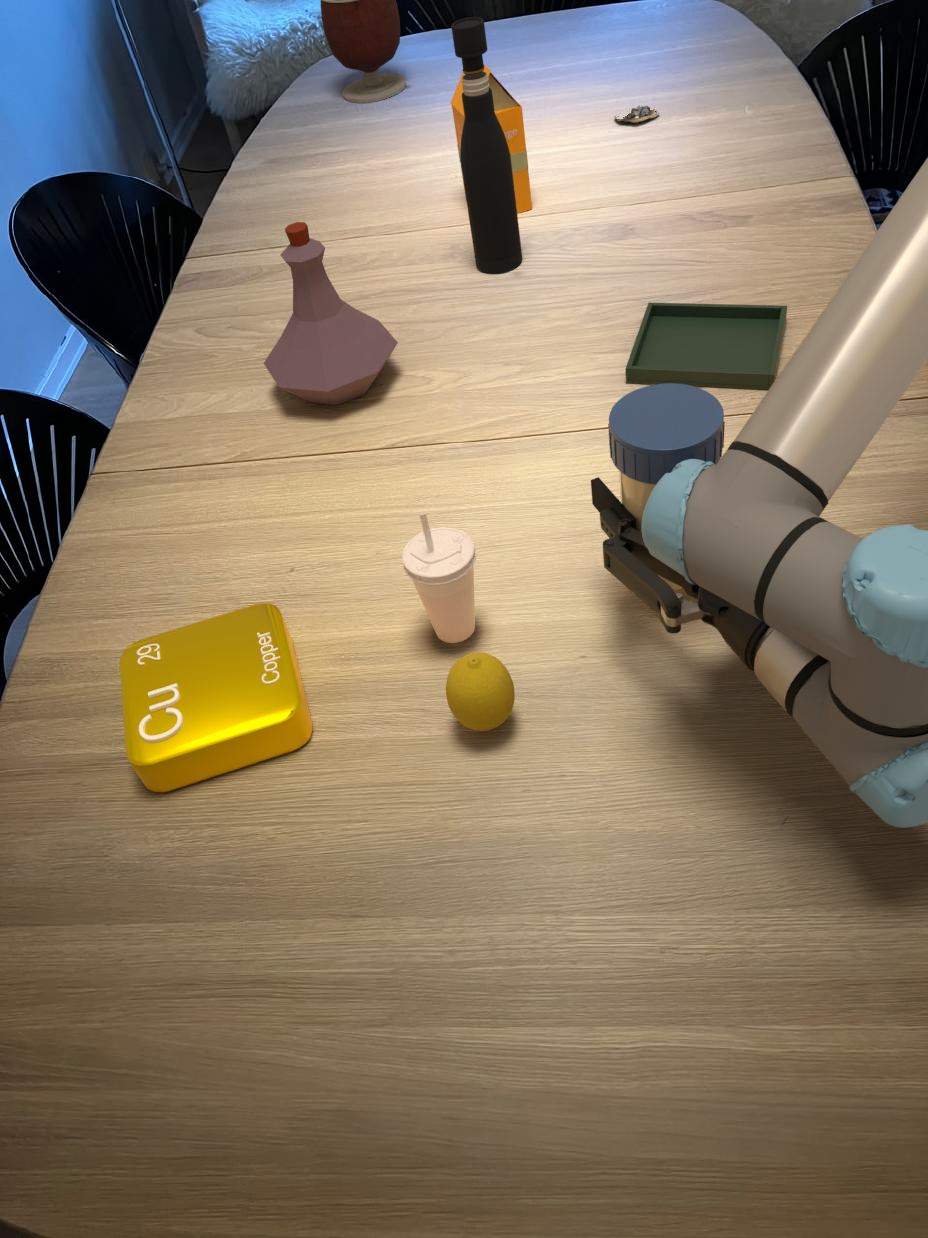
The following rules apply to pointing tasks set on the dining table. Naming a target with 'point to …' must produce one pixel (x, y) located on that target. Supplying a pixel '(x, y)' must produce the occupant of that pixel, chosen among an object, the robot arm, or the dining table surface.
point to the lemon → (480, 691)
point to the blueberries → (639, 114)
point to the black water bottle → (485, 159)
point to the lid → (664, 430)
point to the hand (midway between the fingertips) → (637, 474)
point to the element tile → (212, 698)
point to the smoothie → (444, 578)
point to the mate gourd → (364, 44)
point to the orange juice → (512, 128)
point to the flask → (324, 333)
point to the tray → (708, 345)
